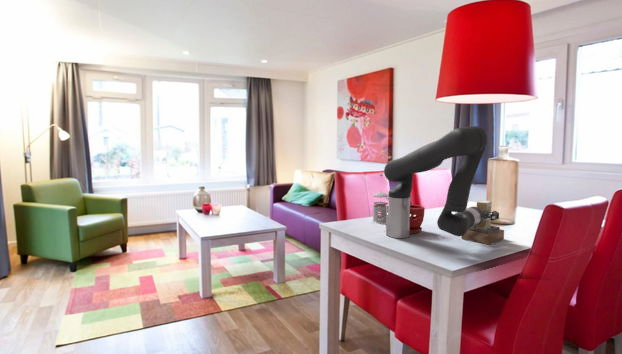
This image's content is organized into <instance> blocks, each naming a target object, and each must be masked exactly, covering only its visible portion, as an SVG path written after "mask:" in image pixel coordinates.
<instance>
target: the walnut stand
mask: <svg viewBox="0 0 622 354" xmlns="http://www.w3.org/2000/svg"><path fill="white" fill-rule="evenodd" d="M461 240H465V241H470V242H475V243H478V244H479V243H480V244H485V245H490V246H491V245H493V244H495V243H498V242H501V241H503V240H505V230H504V229H501V228H500V226H496V225H491V229H489V230H483V229H477V228H476V226H474V227H472V228H468V229H467V232H466V233H465V235H463V236H461Z"/></svg>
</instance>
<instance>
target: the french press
mask: <svg viewBox="0 0 622 354" xmlns="http://www.w3.org/2000/svg"><path fill="white" fill-rule="evenodd" d="M383 176H384V173H379V177H383ZM372 196H373V197H374V198H385V199H387V200H388V199H389V193H386V192H382V191H379V192H375V193H374V194H373V195H372ZM373 203H374V205H372V207H373V208H372V219H371V221H373V222H376V223H375V224H379V223H385V224H386V214H387V213H388V202H386V201H376V202H373ZM373 222H372V223H373Z"/></svg>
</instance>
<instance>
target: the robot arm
mask: <svg viewBox="0 0 622 354" xmlns="http://www.w3.org/2000/svg"><path fill="white" fill-rule="evenodd" d="M487 142H488V136H487V132H486V131H485V129H484V128H482V127H480V126H478V125H474V126H472V125H471V126H464V127H463V126H461V127H457V128H455V129H453V130H451V131H449V132H448V133H446V134H444V135H443V136H441V138H439V139H437V140H436V141H433V142H429V143H428V144H425V145H422V146H421V147H419V148H416V149H415V150H413V151H411V152H410V153H408V154H406V155H404V156H402V157H399V158H396V159H392V160H389V161H388V162H387V163H386V164H385V166H384V170H383V176H384V177H385V178H386V180H388V181H389V182H392V183H393V182H397V185H396V186H394V187H392V188H391V189H389V190H388V195H389V197H388V198H389V199H388V198H387V201H388V202H387V203H388V204H387V206H388V213H387V212H386V213H387V214H386V223H385V235H386V236H388V237H391V238H394V239H406V238H410V233H409V229H410V216H411V214H410V205H411V193H412V189H413V176H414V174H418V173H424V172H428V171H431V170H434V169H435V168H437V167H439V166H441V164H443V162H444V161H445V160H447V159H451V158H456V157H462V156H463V160H462V163H461V165H460V167H459V169H458V170H457V172H456V174H455V175H454V177H453V178H452V180H451V182H450V183H449V186H448V189H447V195H446V201H445V204H444V207H443V209H442V211H441V213H440V214H439V216H438V218H437V223H436V224H437V227H438V229H439V230H440V231H443V232H446V233H448V234H450V235H453V236H456V237H462V236H463V235H465V233H466V232H467V229H468V228H472V227H474V226H477V225H479V224H481V223H482V222H483V220H488V219H490V218H491V222H493V221H496V220H499V219H500V212H498V211H497V210H493V211H492V210H491V212H490V211H482V210H481V209H479V208H477V206H469V207H468V202H469V198H470V194H471V187H472V184H473V182H474V178H475V175H476V173H477V170H478V168H479V165H480V162H481V161H482V158H483V156H484V155H483V154H484V152H485V151H486V147H487V144H488V143H487ZM486 213H487V214H486ZM490 214H491V215H490Z"/></svg>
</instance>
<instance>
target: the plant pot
mask: <svg viewBox="0 0 622 354" xmlns="http://www.w3.org/2000/svg"><path fill="white" fill-rule="evenodd" d="M424 219H425V206H424V205H423V206H422V205H419V204H410V229H409V234H417V233H420V232H421V231H422V230H423V227H421V226H422V224H423V222H424Z"/></svg>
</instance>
